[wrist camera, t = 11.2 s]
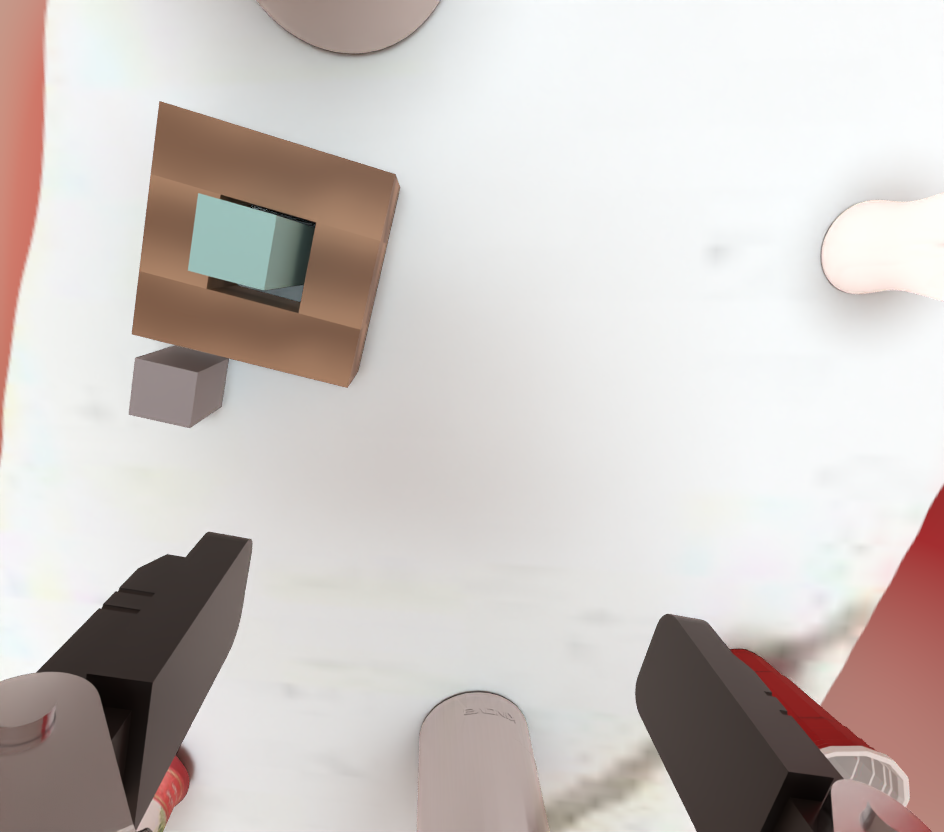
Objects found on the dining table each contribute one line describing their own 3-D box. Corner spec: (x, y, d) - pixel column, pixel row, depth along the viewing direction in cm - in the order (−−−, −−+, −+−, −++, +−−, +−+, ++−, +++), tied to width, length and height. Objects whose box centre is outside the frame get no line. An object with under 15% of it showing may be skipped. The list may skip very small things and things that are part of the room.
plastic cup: (651, 720, 46) (724, 870, 35) (695, 614, 44) (790, 739, 32) (762, 737, 48) (868, 887, 36) (812, 636, 45) (943, 763, 34)
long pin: (320, 229, 34) (276, 215, 24) (310, 283, 34) (263, 290, 25) (265, 213, 33) (198, 193, 24) (256, 268, 34) (187, 270, 24)
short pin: (221, 406, 36) (189, 428, 31) (169, 394, 36) (128, 414, 31) (229, 358, 35) (197, 372, 31) (175, 345, 35) (135, 357, 30)
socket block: (358, 371, 36) (347, 387, 31) (173, 324, 34) (131, 334, 30) (400, 187, 33) (395, 174, 28) (200, 125, 32) (159, 100, 27)
